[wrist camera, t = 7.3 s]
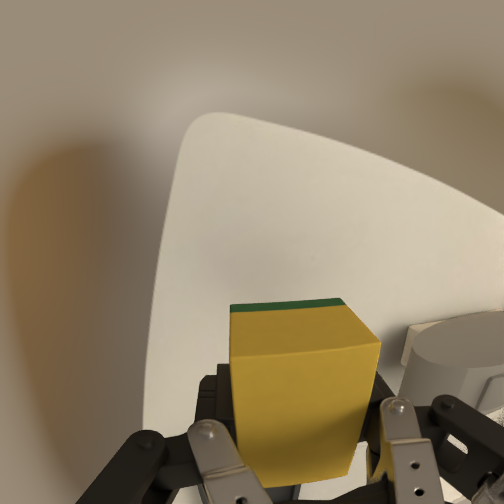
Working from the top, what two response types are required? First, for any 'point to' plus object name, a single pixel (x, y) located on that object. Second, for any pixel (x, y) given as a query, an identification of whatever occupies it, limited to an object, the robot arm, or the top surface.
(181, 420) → the top surface
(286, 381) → the sponge
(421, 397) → the alarm clock
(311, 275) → the top surface
